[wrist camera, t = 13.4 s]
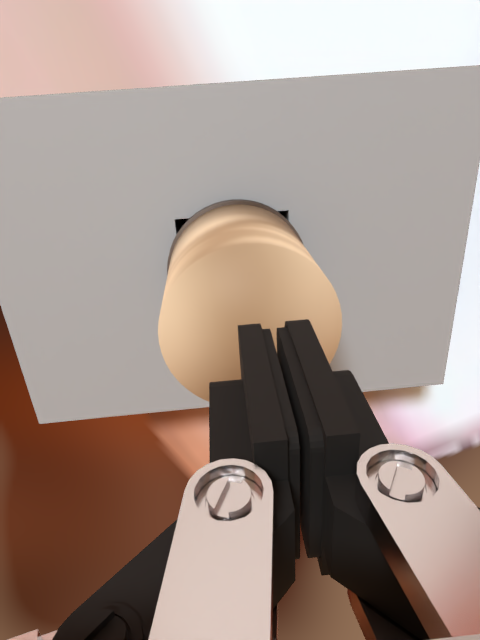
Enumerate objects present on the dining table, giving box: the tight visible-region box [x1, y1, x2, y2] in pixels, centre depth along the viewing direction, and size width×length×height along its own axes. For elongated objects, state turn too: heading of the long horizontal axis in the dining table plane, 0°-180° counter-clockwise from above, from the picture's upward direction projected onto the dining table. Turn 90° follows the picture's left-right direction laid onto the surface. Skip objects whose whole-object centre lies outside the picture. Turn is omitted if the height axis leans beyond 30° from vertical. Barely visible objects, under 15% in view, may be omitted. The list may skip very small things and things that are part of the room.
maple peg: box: [158, 199, 342, 402], centre depth 18 cm, size 6×6×9 cm
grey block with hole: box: [0, 65, 480, 424], centre depth 21 cm, size 20×14×4 cm
